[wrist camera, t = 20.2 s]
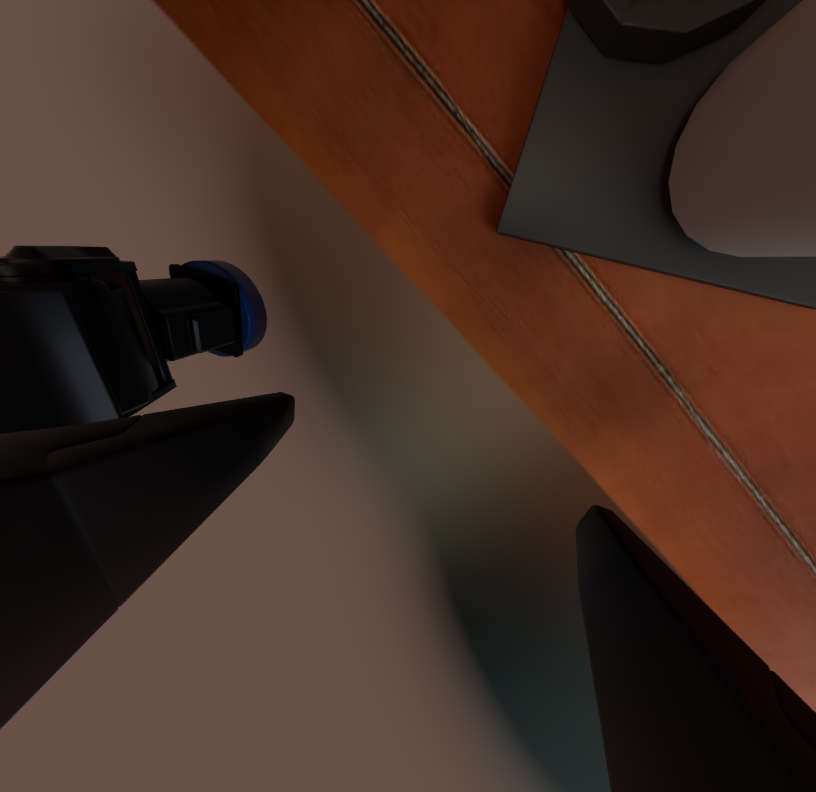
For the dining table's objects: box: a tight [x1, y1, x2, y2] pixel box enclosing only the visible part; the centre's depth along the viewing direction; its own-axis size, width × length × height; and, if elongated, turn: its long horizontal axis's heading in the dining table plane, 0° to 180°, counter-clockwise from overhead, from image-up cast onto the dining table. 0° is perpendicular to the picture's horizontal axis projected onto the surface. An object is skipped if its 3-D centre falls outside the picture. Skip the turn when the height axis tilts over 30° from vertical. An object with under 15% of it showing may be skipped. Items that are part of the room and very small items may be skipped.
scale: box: [496, 0, 816, 309], centre depth 10 cm, size 16×14×3 cm
